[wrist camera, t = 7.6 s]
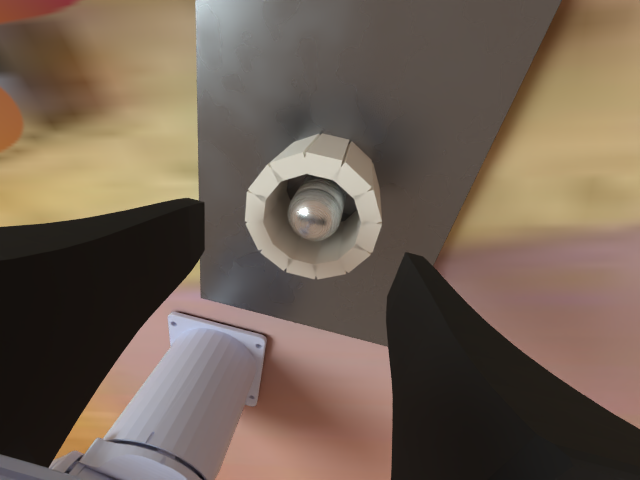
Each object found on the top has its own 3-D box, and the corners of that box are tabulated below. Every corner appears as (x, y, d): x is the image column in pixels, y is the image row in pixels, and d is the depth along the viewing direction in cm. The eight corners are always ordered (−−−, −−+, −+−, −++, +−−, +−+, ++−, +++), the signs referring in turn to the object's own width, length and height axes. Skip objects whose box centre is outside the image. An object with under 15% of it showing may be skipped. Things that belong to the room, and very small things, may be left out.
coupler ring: (392, 149, 14) (398, 174, 11) (361, 246, 17) (359, 290, 14) (279, 123, 14) (250, 138, 11) (268, 223, 17) (242, 261, 14)
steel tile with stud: (392, 336, 21) (397, 406, 17) (207, 289, 22) (165, 344, 17) (558, -18, 11) (682, -79, 7) (207, -92, 12) (104, -195, 7)
